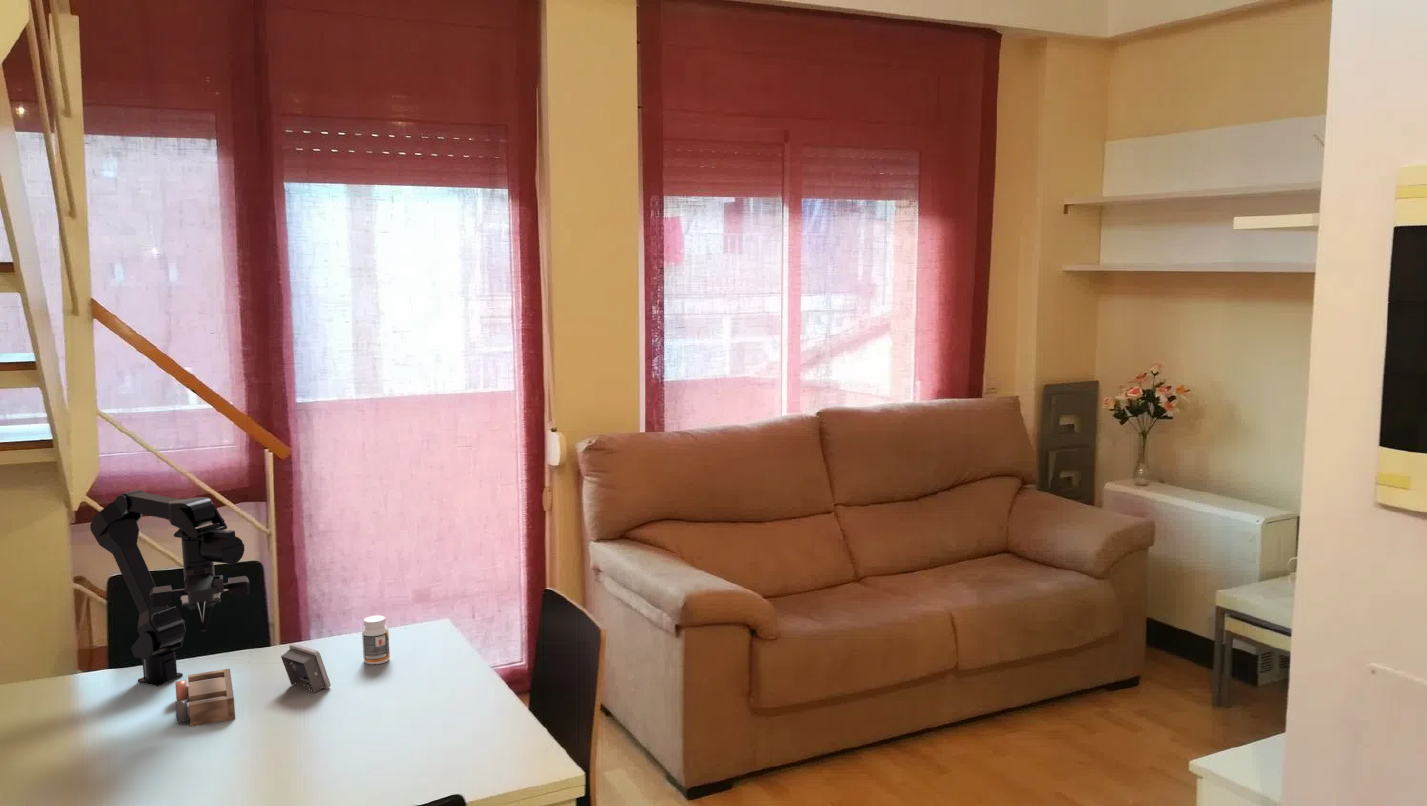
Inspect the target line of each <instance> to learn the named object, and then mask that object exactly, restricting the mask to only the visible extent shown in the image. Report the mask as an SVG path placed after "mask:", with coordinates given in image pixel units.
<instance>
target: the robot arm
mask: <svg viewBox="0 0 1427 806" xmlns="http://www.w3.org/2000/svg"><path fill="white" fill-rule="evenodd" d="M144 516H150V517H154V518H159V519H165V520H167V521H169V523H170V525H171V526H173V527H175V528H177V531H175V533H174V534H173V537H174V538H178V539H179V538H180V539H181V552H182V566H183V579H184V580H183V585H184V586H183V587H184V588H178V589H172V585H171V584H169V585H163V586H157V585H156V583H155V581H154V579H153V576H152V574H151V572H150V570H149V568H148V566H147V564H146V561H145V558H144V557H143V556H144V555H143V554H142V552H141V550H140V548H139V546H138V539H139V535H140V529H139V523H138V522H140V520H141V519H142V517H144ZM224 519H225V518H224V517H222V516H221V514H220V512H219V510H218V508H217V507H216V506H215V504H214V503H213V501H212V500H211V498H209V497H205V496H203V497H202V496H201V497H200V496H199V497H188V498H180V499H179V498H176V497H170V496H164V495H158V494H156V493H155V494H153V493H150V492H149V493H148V492H145V491H144V490H140V489H135V490H132V491H128V492H123V493H121V494H119V495H117V496H116V498H115V499H114V500H113V501H112V502H111V503H110V504H108V505H106V506H105V507H104V508H102V509H101V510H100V511H99V512H98V513H97V514H95V515H94V516H93V517H92V521H91V522H90V526H89V528H90V532H91V534H92V535H93V537H94V538H95V540H96V542H97V543H98V545H99V546H100V547H101V548H102V549H105V550H106V551H107V552H109V553H111V555H113V558H114V560H115V563H116V565H117V567H118V569H119V571H120V573H121V576H122V578H123V580H124V581H125V582H124V583H125V584H126V586H127V589H128V591H129V594H130V596H131V598H132V600H133V603H134V605H135V606H136V609H137V611H138V614H139V617H138V623H137V628H136V629H137V632H138V636H139V637H138V639H137V640H136V641H134V644H133V645H132V646H131V647H130V650H131V652H132V655H133V657H134V658H137V659H142V662H141V663H142V672H143V676H142V677H141V678H138V679H137V683H141V684H144V685H150V686H154V685H155V687H160V686H162V685H164V684H167V683H169V682H172V681H174V680H177V679H179V678H182V677H183V676H184V675H183V673H182V672H178V667H177V659H176V651H174V650H176V649H177V650H178V649H179V648H182V647H183V644H184V639H185V635H186V632H187V630H186V625H185V623H186V621H185V620H184V619H183V617H182V615H181V612H180V609H179V608H178V607H177V606H173V607H170V606H169V605H170V604H171V603H172V601H173V600H177V599H180V601H181V607H182V608H188V609H189V611H190V612H191V613H192V615H193V617H194V618H195V621H196V623H197V626H198V627H199V629H200V632H206V631H207V628H208V624H209V620H210V616H211V613H212V610H213V609H214V606H215V605H216V604H218V603H221V594H223V593H229V595H231V596H232V597H243V596H249V595H251V587H250V580H249V578H248V577H247V576H246V575H242V576H235V577H234V576H233V577H228V578H227V582H225V583H224V576H223V575H222V574H221V575H215V563H219V564H225V565H226V564H227V565H235V564H237V563H239V562H240V560H241V559H242V558H243V556H244V555H245V554H244V553H245V544H244V542H243V540H242V539H241V538H240V537H238V536H236V531H235V530H232V529H230V530H227V529H228V525H227V524H226V521H225V520H224ZM199 603H203V613H202V612H201V608H200V604H199ZM202 614H203V615H202ZM159 685H160V686H159Z"/></svg>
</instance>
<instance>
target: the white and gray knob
mask: <svg viewBox="0 0 1427 806" xmlns="http://www.w3.org/2000/svg"><path fill="white" fill-rule="evenodd" d="M222 697H225V696H222ZM216 698H221V697H216ZM210 699H215V698H210ZM204 700H209V699H204ZM198 701H203V700H198ZM192 702H197V701H192ZM174 703H175V717H176V718H175V720H176V722H177V723H179V722H180V723H181V722H184V721H189V718H190V712H189V703H191V702H189V701H188V700H187V699H186V700H180V701H177V700H175V702H174Z"/></svg>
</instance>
